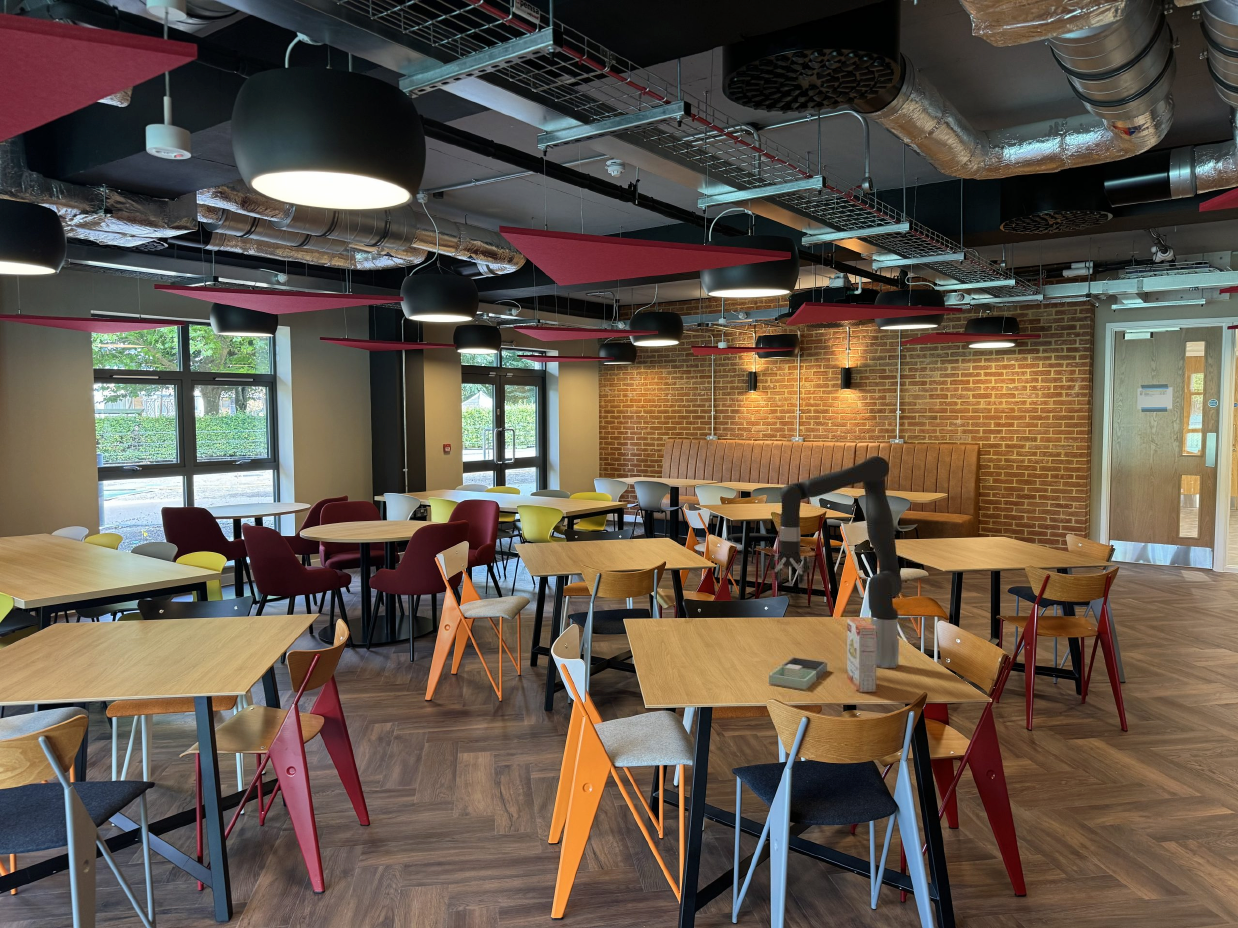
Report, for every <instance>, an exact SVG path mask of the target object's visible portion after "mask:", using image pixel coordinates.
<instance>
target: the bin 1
mask: <svg viewBox="0 0 1238 928" xmlns="http://www.w3.org/2000/svg"><path fill="white" fill-rule="evenodd" d="M816 681H817V679H816V671H811V670H805V669H802V679H796V678H790V677H785V666H782V665H781V666H779V667H778V668H776V669H775V670H773V671H772V672H771V673H770V674H768V685H769V686H770V687H771V686H772V687H776V688H783V689H789V690H795V691H801V692H806V691H807V689H808V688H809V687H810V686H811V685H813V684H814V683H815V682H816Z"/></svg>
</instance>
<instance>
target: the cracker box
mask: <svg viewBox="0 0 1238 928" xmlns="http://www.w3.org/2000/svg"><path fill="white" fill-rule="evenodd" d="M846 621H847V623H846V625H847V626H846V627H847V631H846V632H847V635H846V637H847V643H846V644H847V645H846V657H847V658H846V661H847V662H846V663H847V664H846V666H847V667H846V669H847V671H846V673H847V674H846V678H847V679H848V681H849V682H850V683H851V684H852V686H854V687H855V688H856V691H858V693H877V667H876V654H877V629H876V628H875V627H874V626H872V625H871V622H868V621H867V620H866V619H864V618H847V620H846Z"/></svg>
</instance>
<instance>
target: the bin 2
mask: <svg viewBox="0 0 1238 928" xmlns="http://www.w3.org/2000/svg"><path fill="white" fill-rule="evenodd" d="M788 664H792V665H799V666H802V669H805V670H811V671H816V680H818V679H819V678H821V677H822V676H823V675H824V674H825V673H826V672H827V671H828V662H827V661H823V660H814V659H808V658H802V657H791V658H790V659H788V660H787V661H786V662H784V663H783V664H781V666H785V667H786V666H787V665H788Z"/></svg>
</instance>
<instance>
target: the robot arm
mask: <svg viewBox="0 0 1238 928" xmlns="http://www.w3.org/2000/svg"><path fill="white" fill-rule="evenodd" d="M889 473H890V465H889V462H888V461H887V459H886V458H884V457H882V456H880V455H873V456H870V457H867V458H866V459H864V460H863V461H861V462H860V463H858V464H856V465H855V464H854V465H853V466H852V465H851V466H850V467H848V468H843V469H840V470H836V471H832V472H828V473H823V474H820V475H818V476H814V477H810V478H809V479H806V480H801V481H797V482H794V483H793V482H792V483H790V484H789V483H788V484H786V485H784V486H783V487H782V488H781V490H780V493H779V495H780V499H781V512H780V519H779V520H780V524H779V525H780V528H779V537H778V538H779V543H778V544H779V551H778V552H779V553H775V552H773V553H771V554H770V561H769V569H770V570H771V571H773V572H774V580H775V581H776V583H780V582H781V569H782V568H783V567H790V568H795V569H796V570H797V571H798V573H799V574H798V585H803V583H804V582H805V574H807V573H809V572H810V556H809V555H806V556H804V555H803V556H802V555H801V529H800V528H801V525H800V524H801V517H800V512H801V502H802V500H806V499H809V498H816V497H820V496H823V495H827V494H830V493H833V492H835V491H838V490H841V489H843V488H847V487H849V486H852V485H857V484H861V483H863V489H864V495H865V517H866V519H865V521H866V530H867V531H866V532H867V537H868V540H869V542H870V544H871V547H872V549H873V550H874V552H875V555H876V558H877V563H878V571H879V572H878V573H875V574H873V575H872V576H871V577H870V579H869V581H868V587H867V588H868V589H867V591H868V592H867V593H868V594H867V595H868V599H867V600H868V608H869V611H870V624H871V625H872V626H874V627H875V628H876V629H877V654H876V668H882V669H896V668H897V667H898V665H899V660H900V659H899V655H900V653H899V652H900V647H899V646H900V645H899V644H900V643H899V642H900V638H898V634H899V633H898V631H899V627H898V626H899V624H898V622H899V611H898V610H897V609H896V608H894V604H893V601H894V600H893V598H894V597H897V596H899V595H900V594H901V592H902V589H903V582H902V577H901V570H900V567H899V562H898V556H897V546H896V537H895V527H894V526H895V525H894V519H893V518H894V517H893V514H892V510H891V507H890V503H889V500H888V497H887V491H886V477H887V476H888V475H889ZM777 559H778V560H779V561H780V562H779V563H778V564H777V565H776V563H777V562H776V560H777ZM801 560H802V563H803V565H802V564H801V563H800V562H801ZM802 566H803V567H802Z"/></svg>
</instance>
